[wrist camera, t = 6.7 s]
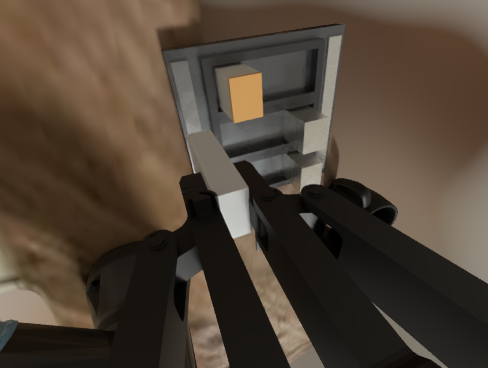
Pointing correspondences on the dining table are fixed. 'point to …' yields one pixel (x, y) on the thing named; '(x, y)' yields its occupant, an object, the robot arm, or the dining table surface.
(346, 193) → the mug
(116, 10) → the dining table surface
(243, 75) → the block
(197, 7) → the dining table surface
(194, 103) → the panel
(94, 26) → the dining table surface
